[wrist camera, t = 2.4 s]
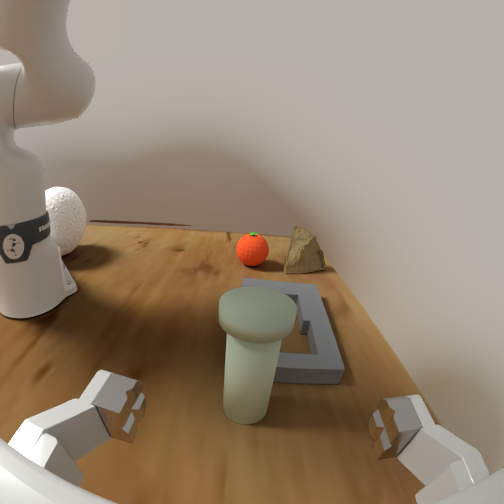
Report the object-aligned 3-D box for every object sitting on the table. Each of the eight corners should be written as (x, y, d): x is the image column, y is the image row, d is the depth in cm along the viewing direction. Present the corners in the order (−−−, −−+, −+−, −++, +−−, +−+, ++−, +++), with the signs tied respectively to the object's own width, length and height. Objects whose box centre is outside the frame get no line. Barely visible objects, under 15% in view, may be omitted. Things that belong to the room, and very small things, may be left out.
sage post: (205, 400, 25) (205, 295, 21) (250, 381, 29) (264, 281, 24) (237, 439, 21) (250, 335, 17) (285, 413, 24) (312, 311, 20)
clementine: (232, 256, 65) (235, 227, 62) (261, 257, 66) (265, 228, 64) (237, 270, 57) (240, 237, 55) (270, 271, 59) (274, 238, 56)
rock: (327, 255, 66) (289, 243, 67) (337, 235, 59) (295, 222, 60) (319, 292, 60) (278, 280, 61) (329, 275, 53) (283, 261, 54)
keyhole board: (339, 384, 29) (345, 369, 28) (226, 377, 29) (227, 362, 28) (313, 296, 49) (316, 284, 49) (242, 289, 50) (243, 277, 49)
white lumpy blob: (98, 261, 53) (95, 186, 48) (24, 277, 41) (14, 196, 36) (80, 239, 66) (78, 181, 61) (23, 249, 53) (18, 188, 49)
